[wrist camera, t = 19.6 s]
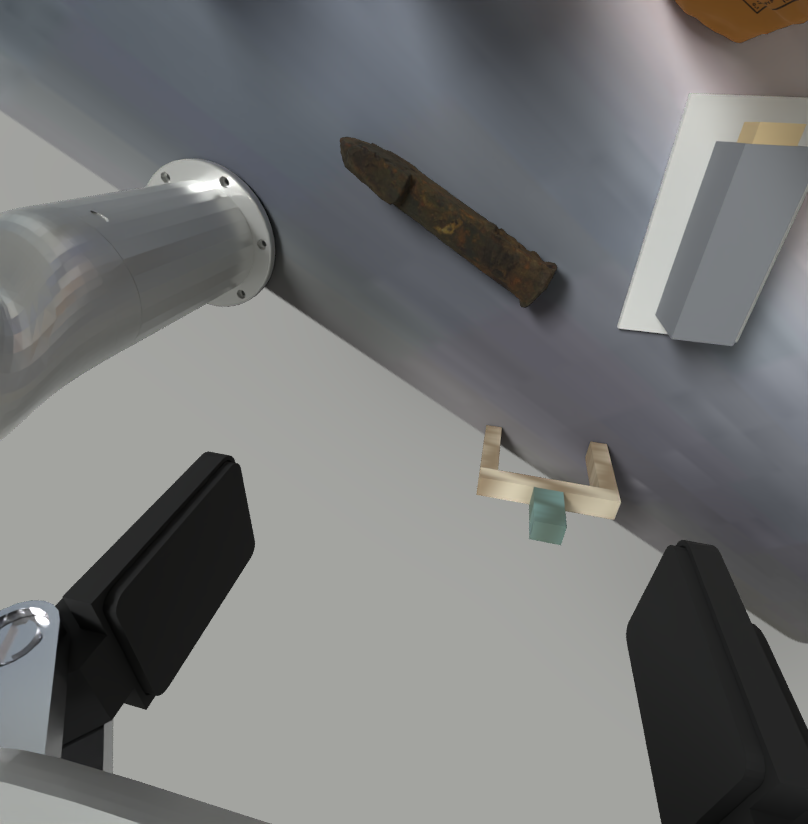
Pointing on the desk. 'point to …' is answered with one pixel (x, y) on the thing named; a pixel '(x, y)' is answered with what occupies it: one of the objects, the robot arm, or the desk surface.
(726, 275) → the grey block with cap
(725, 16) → the coffee package
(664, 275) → the mat
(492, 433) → the wooden arch block
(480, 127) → the desk surface
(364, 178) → the hand tool
